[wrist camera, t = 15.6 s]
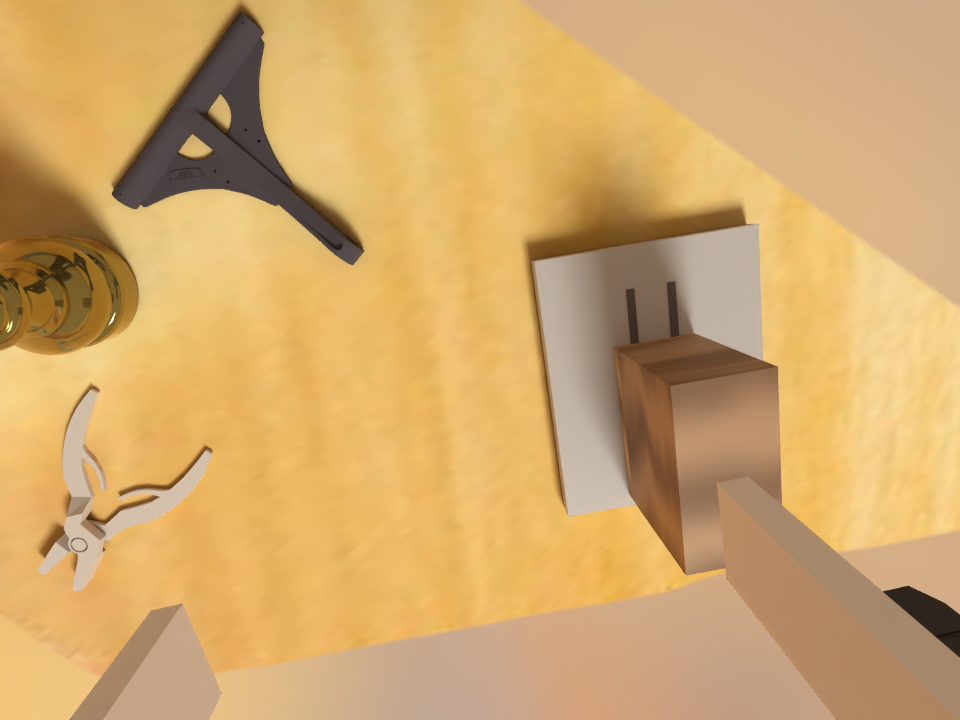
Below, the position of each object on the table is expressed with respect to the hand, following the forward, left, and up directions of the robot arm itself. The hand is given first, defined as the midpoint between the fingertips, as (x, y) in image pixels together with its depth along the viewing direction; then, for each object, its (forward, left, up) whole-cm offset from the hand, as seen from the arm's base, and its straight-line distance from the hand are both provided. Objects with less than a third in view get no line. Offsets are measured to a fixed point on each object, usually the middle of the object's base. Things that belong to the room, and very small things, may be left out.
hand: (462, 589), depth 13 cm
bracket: (-13, -10, -28) cm, 33 cm away
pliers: (+7, -28, -28) cm, 40 cm away
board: (+5, +15, -27) cm, 31 cm away
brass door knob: (-9, -24, -28) cm, 38 cm away
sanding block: (+8, +15, -26) cm, 31 cm away
